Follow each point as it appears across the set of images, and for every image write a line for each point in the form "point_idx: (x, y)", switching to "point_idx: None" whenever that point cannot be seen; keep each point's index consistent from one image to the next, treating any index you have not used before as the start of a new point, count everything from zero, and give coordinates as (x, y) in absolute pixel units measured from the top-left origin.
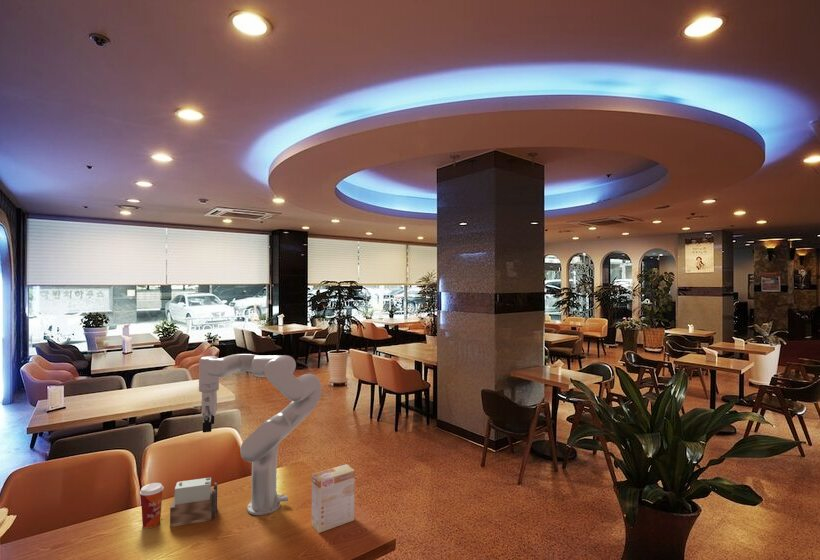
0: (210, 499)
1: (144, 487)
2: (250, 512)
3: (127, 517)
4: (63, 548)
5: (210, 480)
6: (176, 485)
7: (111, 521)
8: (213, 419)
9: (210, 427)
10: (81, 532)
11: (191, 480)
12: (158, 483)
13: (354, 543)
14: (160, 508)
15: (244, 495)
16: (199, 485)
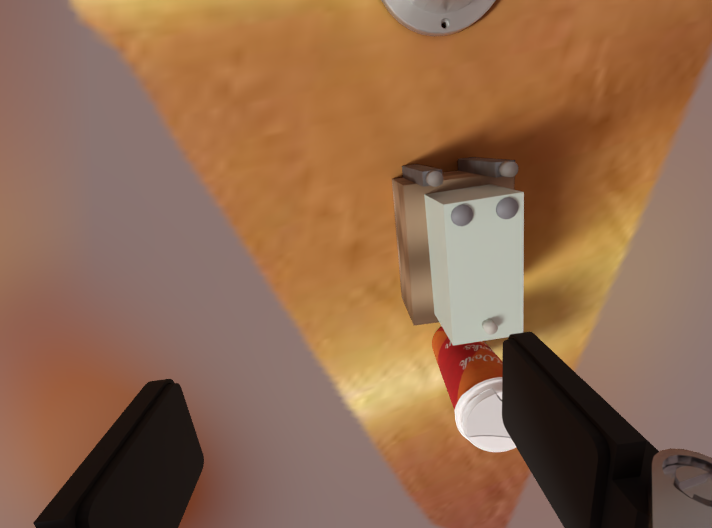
0: (489, 180)
1: (500, 444)
2: (485, 12)
3: (399, 411)
4: (510, 479)
5: (481, 198)
6: (490, 338)
7: (411, 439)
8: (142, 434)
9: (562, 375)
10: (449, 476)
11: (455, 290)
12: (476, 410)
13: None
14: (474, 342)
15: (315, 71)
16: (522, 239)
